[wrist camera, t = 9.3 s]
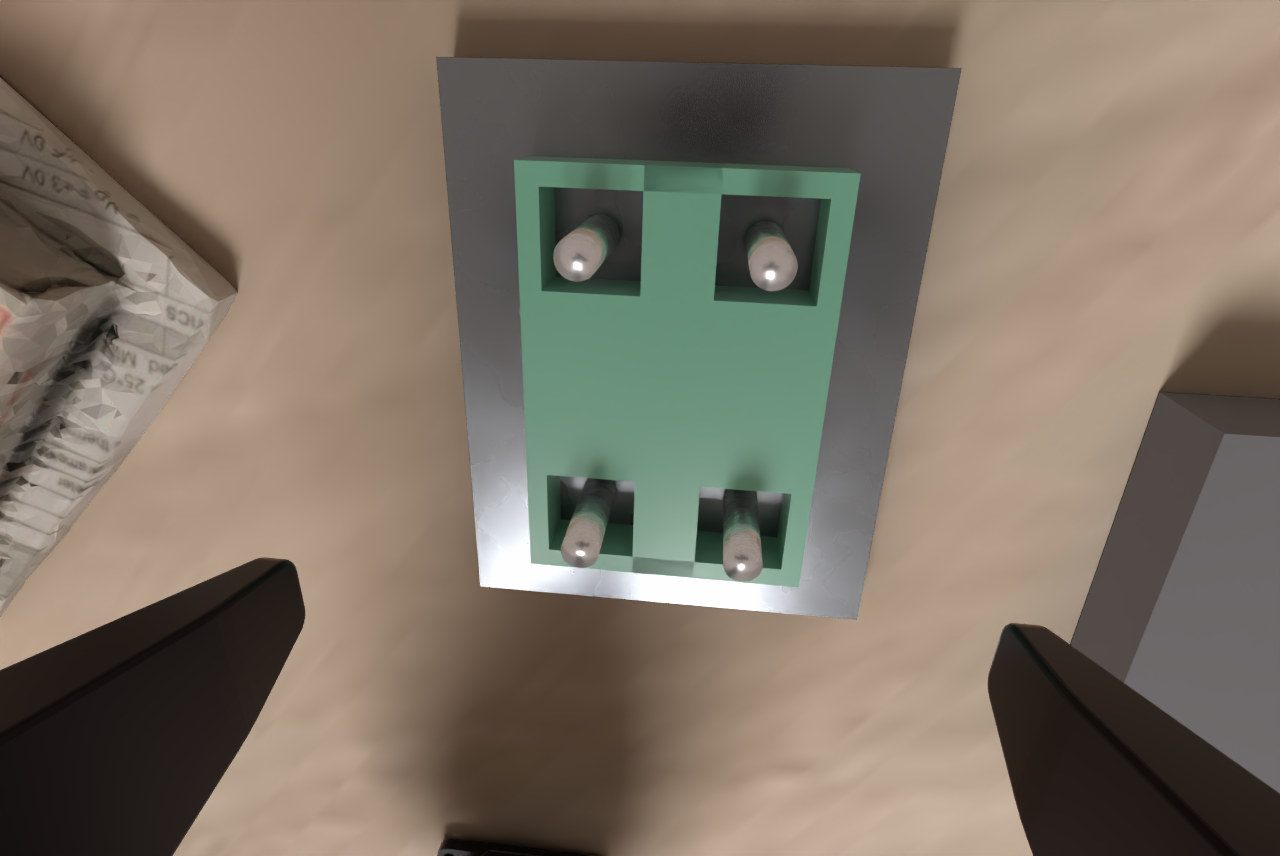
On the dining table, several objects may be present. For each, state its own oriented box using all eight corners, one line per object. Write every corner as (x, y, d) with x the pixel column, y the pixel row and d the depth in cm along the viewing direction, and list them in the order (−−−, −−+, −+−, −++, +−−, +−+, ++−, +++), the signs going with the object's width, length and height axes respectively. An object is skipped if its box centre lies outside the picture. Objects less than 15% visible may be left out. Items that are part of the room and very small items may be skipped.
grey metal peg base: (851, 597, 21) (877, 699, 17) (490, 566, 22) (443, 656, 18) (947, 70, 15) (1017, 58, 12) (452, 60, 16) (374, 45, 13)
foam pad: (1236, 763, 22) (1296, 838, 20) (1036, 743, 22) (1071, 814, 20) (1423, 407, 17) (1530, 452, 15) (1159, 392, 18) (1224, 433, 15)
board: (793, 554, 19) (798, 587, 18) (543, 533, 20) (530, 563, 19) (848, 168, 15) (860, 173, 14) (531, 155, 16) (513, 160, 15)
